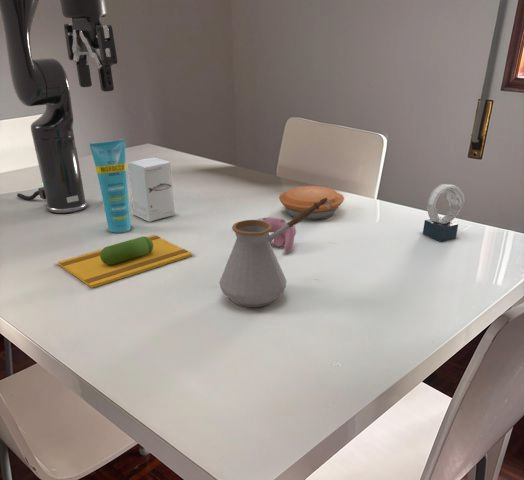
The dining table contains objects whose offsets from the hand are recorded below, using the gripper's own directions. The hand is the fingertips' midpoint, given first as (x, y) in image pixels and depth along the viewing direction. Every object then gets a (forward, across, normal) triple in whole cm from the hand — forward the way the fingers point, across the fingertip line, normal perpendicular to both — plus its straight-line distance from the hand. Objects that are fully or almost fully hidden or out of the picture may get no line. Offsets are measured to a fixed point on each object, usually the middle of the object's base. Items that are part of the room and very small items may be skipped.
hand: (96, 88), depth 105 cm
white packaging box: (+30, +10, -15) cm, 35 cm away
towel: (+30, -10, +4) cm, 32 cm away
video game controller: (+30, -24, -22) cm, 44 cm away
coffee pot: (+30, -40, -9) cm, 51 cm away
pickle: (+29, -10, +4) cm, 31 cm away
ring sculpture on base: (+30, -44, -53) cm, 75 cm away
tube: (+30, +7, -4) cm, 31 cm away
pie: (+30, -14, -44) cm, 55 cm away
